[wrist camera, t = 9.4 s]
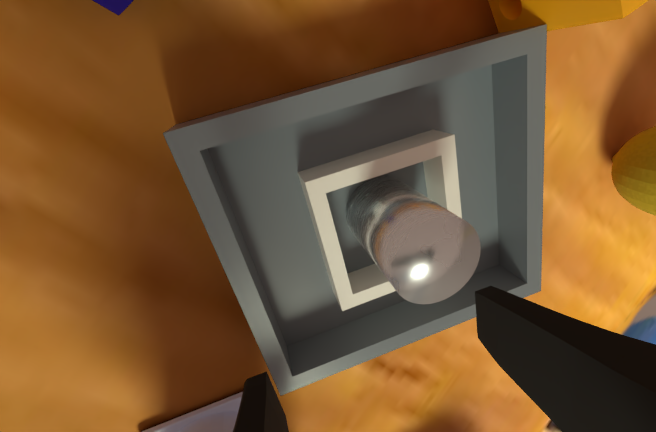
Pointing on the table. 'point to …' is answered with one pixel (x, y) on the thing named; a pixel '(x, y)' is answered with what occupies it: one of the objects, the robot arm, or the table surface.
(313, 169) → the walled tray
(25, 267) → the table surface
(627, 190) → the lemon
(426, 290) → the metal peg
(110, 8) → the blue cradle block
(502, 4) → the pipe clamp
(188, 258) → the table surface
